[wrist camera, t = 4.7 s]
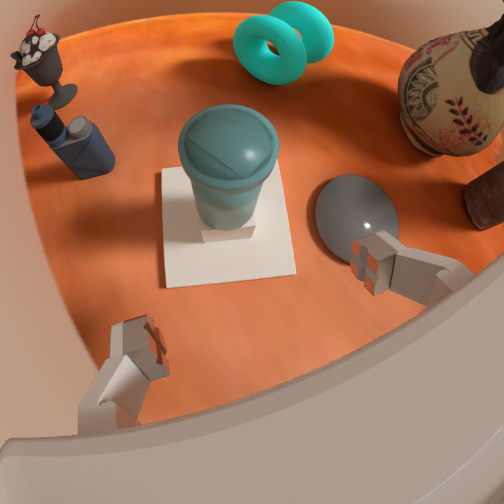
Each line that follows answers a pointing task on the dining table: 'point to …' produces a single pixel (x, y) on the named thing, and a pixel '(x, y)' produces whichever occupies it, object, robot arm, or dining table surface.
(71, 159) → the vaping device
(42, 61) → the sundae
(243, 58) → the donuts
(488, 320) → the robot arm
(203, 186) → the teal domed cylinder
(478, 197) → the brown tall cylinder
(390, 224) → the dish
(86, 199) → the dining table surface
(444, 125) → the ceramic jug
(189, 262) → the white cube on base
